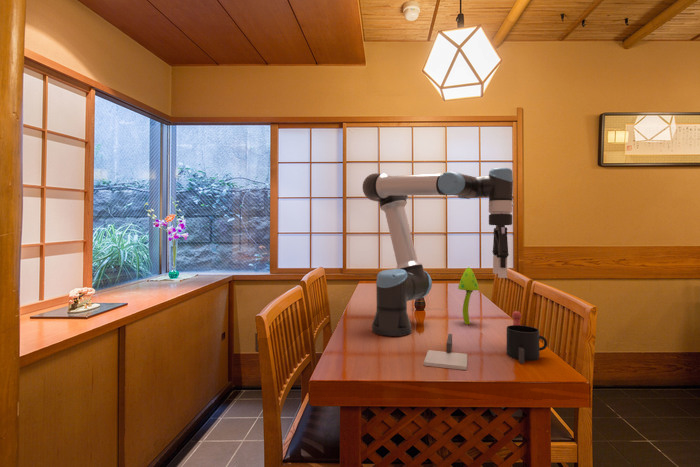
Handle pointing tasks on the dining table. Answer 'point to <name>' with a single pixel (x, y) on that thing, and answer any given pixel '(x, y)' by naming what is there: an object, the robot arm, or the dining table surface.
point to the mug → (524, 342)
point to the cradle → (516, 321)
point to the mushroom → (467, 290)
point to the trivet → (446, 360)
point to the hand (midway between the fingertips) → (499, 275)
